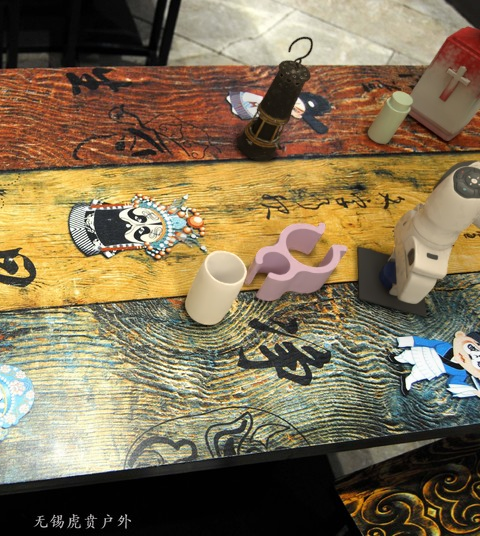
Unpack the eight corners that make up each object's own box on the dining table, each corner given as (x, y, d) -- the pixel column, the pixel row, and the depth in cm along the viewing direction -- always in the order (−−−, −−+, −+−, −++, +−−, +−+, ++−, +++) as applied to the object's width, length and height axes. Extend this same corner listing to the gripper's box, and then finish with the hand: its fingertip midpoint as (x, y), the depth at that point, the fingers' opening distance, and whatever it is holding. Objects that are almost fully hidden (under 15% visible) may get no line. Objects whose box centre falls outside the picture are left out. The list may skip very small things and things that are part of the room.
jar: (389, 130, 183) (414, 93, 173) (390, 146, 179) (416, 109, 170) (366, 125, 183) (390, 87, 173) (367, 140, 179) (391, 102, 170)
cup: (180, 324, 139) (201, 281, 127) (182, 289, 144) (203, 244, 133) (224, 333, 139) (249, 291, 128) (225, 297, 144) (248, 253, 133)
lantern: (277, 163, 169) (332, 57, 146) (239, 158, 168) (288, 51, 145) (272, 135, 175) (324, 29, 151) (235, 131, 174) (281, 23, 150)
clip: (270, 313, 143) (283, 293, 138) (231, 267, 149) (242, 246, 143) (341, 277, 152) (356, 257, 146) (302, 234, 157) (315, 213, 152)
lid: (379, 288, 151) (384, 282, 149) (378, 264, 154) (383, 258, 153) (408, 295, 151) (413, 289, 149) (406, 271, 154) (411, 265, 153)
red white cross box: (396, 111, 188) (462, 9, 164) (417, 97, 193) (484, -4, 169) (444, 145, 182) (519, 45, 158) (464, 130, 187) (540, 30, 163)
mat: (420, 264, 157) (421, 263, 157) (425, 317, 149) (426, 316, 148) (357, 247, 157) (358, 246, 157) (358, 299, 149) (359, 298, 149)
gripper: (408, 194, 148) (375, 237, 159) (414, 272, 135) (378, 313, 146) (438, 202, 148) (404, 244, 159) (447, 281, 135) (409, 321, 146)
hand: (392, 278), depth 152 cm, fingers closed on lid, 6 cm apart
